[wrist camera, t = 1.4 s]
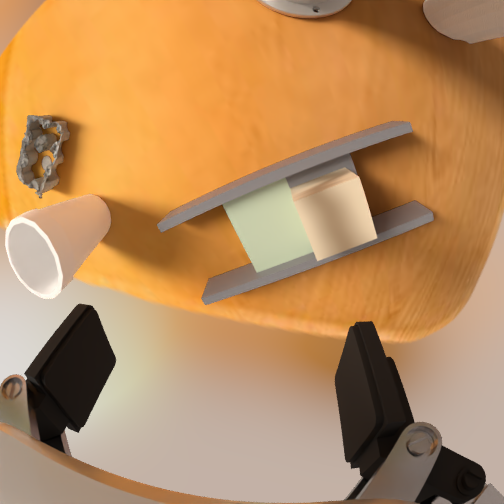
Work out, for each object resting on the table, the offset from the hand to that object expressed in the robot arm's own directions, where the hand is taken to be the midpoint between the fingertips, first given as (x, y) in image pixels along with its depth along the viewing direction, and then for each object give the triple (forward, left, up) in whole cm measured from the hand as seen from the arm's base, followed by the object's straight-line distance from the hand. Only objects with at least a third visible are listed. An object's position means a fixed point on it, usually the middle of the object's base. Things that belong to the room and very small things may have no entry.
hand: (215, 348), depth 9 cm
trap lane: (-2, +5, -24) cm, 24 cm away
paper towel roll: (-34, -1, -24) cm, 42 cm away
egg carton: (+16, -25, -24) cm, 39 cm away
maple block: (-5, +6, -21) cm, 22 cm away
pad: (+1, +4, -24) cm, 24 cm away
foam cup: (+18, -13, -24) cm, 33 cm away
